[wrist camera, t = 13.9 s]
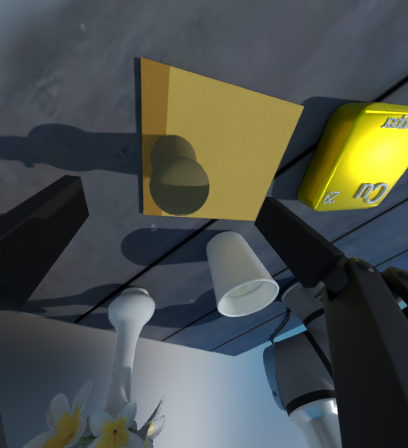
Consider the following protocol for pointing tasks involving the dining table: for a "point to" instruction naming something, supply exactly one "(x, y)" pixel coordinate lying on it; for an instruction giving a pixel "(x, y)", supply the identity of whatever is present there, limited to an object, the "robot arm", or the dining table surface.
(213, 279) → the candle holder
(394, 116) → the element tile
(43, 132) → the dining table surface
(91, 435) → the flower vase
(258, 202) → the towel
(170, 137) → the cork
